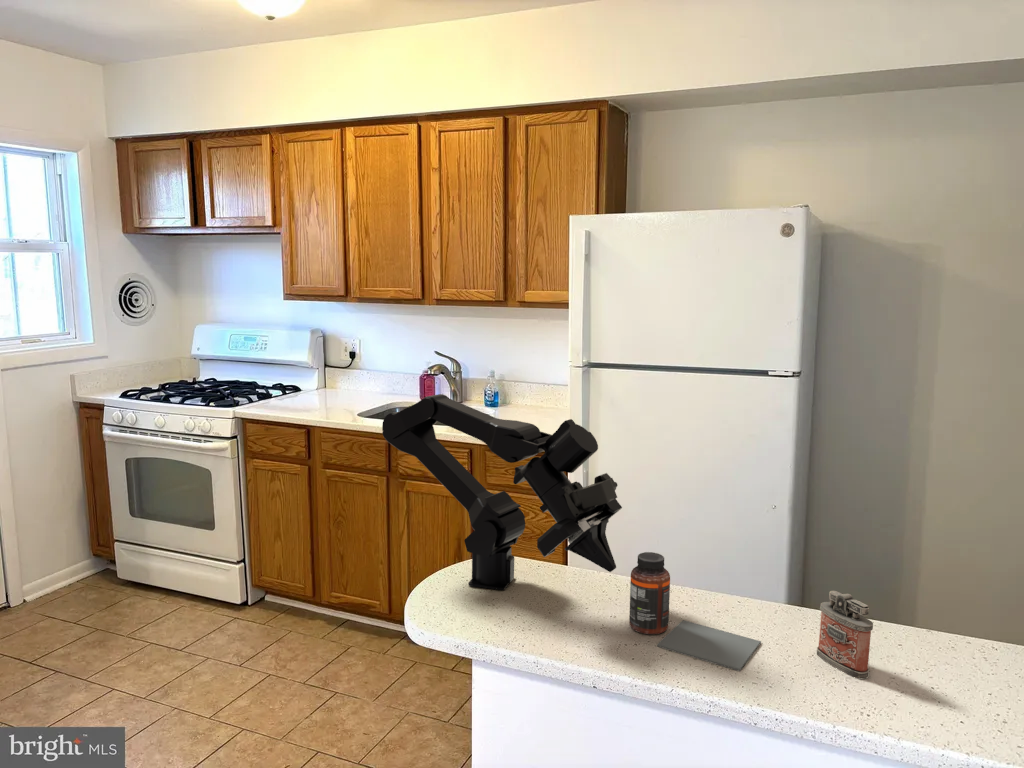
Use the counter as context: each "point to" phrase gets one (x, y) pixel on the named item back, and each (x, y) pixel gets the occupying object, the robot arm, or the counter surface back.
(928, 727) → the counter surface
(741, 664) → the mat
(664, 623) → the supplement bottle
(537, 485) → the robot arm
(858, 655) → the lighter
